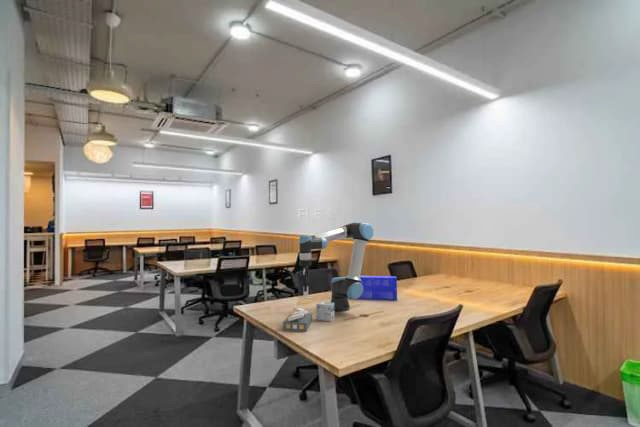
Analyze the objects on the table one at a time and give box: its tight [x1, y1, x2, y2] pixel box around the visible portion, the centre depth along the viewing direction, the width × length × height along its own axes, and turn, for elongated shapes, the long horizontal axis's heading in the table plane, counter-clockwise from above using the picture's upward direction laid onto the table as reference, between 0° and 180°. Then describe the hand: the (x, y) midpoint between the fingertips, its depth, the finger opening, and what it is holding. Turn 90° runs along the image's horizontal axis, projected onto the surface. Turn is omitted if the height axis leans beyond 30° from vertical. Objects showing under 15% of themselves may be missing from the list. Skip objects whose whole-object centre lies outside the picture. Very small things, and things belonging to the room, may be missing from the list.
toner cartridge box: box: [349, 275, 398, 301], centre depth 273 cm, size 39×8×18 cm, turn 79°
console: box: [282, 312, 313, 333], centre depth 203 cm, size 14×20×6 cm
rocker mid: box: [289, 309, 307, 316], centre depth 203 cm, size 9×4×2 cm, turn 82°
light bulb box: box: [315, 301, 335, 322], centre depth 216 cm, size 11×7×11 cm, turn 71°
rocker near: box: [287, 312, 304, 321], centre depth 197 cm, size 9×4×2 cm, turn 82°
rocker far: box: [292, 305, 309, 316], centre depth 209 cm, size 9×4×2 cm, turn 82°
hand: (305, 296), depth 210 cm, fingers closed
